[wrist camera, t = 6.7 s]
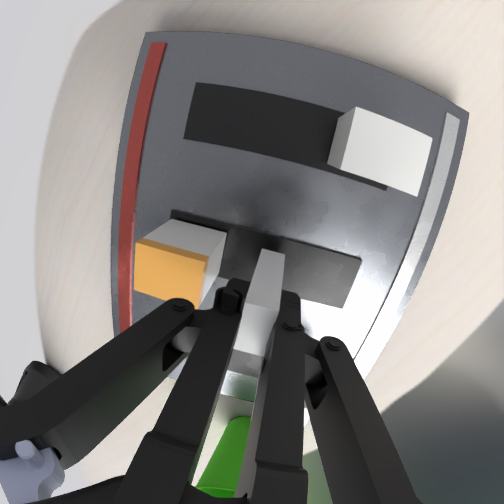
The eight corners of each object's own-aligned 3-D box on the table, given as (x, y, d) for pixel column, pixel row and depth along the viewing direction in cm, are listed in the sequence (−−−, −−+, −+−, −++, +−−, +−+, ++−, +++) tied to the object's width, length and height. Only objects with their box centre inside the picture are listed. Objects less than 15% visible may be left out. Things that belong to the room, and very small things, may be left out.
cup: (203, 406, 30) (175, 482, 19) (278, 404, 28) (267, 491, 17) (226, 443, 32) (208, 508, 22) (291, 442, 30) (284, 513, 20)
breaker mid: (167, 257, 20) (133, 289, 15) (171, 218, 19) (135, 242, 14) (218, 272, 20) (197, 310, 15) (226, 233, 19) (204, 262, 14)
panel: (124, 345, 28) (115, 357, 26) (157, 39, 16) (144, 31, 14) (335, 403, 27) (337, 418, 24) (456, 114, 15) (471, 112, 13)
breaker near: (326, 163, 16) (340, 169, 12) (338, 117, 15) (356, 106, 10) (385, 183, 16) (417, 196, 11) (397, 139, 15) (432, 138, 10)
